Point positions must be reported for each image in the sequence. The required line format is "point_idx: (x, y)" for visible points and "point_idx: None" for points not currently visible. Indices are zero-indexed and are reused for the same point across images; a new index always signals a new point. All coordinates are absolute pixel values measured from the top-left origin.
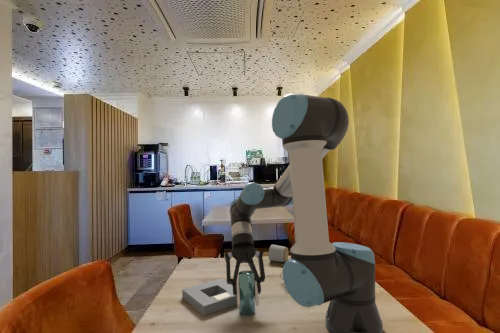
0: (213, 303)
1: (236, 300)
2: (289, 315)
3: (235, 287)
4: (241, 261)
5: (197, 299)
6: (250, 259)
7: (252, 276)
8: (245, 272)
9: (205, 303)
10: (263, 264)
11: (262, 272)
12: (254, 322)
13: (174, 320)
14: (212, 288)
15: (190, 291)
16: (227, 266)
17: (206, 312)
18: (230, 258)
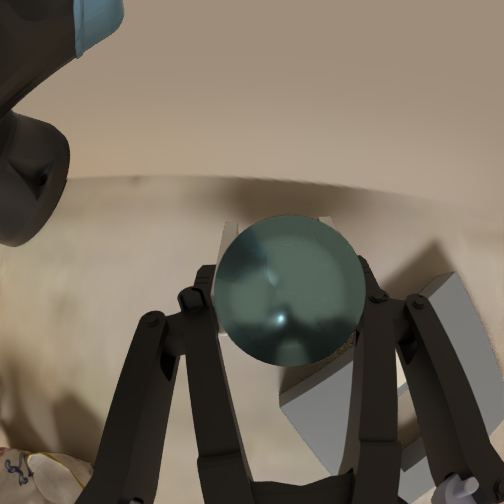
0: (427, 298)
1: (326, 369)
2: (126, 253)
3: None
4: (334, 478)
5: (479, 332)
6: (227, 469)
7: (238, 239)
8: (299, 313)
9: (454, 295)
10: (110, 408)
11: (145, 349)
12: (256, 214)
13: (497, 254)
14: (420, 454)
15: (495, 398)
16: (461, 384)
17: (435, 281)
18: (446, 482)
